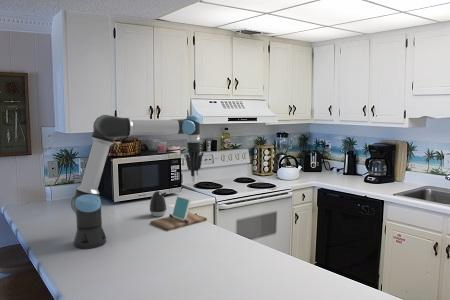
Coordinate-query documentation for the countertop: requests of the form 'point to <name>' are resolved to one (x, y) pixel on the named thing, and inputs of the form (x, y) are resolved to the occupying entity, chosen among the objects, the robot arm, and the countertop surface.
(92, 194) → the robot arm
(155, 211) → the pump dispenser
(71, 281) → the countertop surface
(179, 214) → the tile
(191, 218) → the walnut board
